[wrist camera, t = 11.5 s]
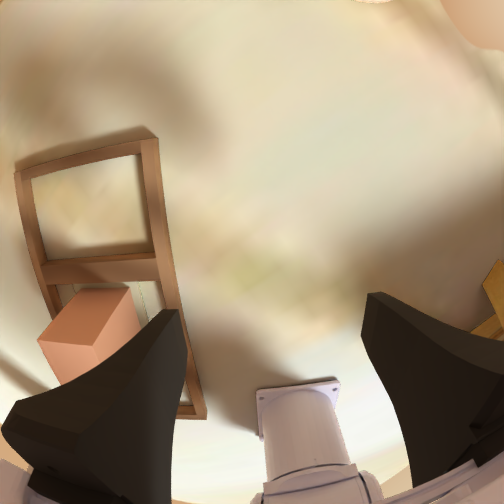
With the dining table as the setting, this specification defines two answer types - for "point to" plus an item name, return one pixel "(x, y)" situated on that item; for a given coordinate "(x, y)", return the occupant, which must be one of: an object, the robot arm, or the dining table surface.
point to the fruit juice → (373, 1)
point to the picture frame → (494, 304)
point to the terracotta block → (89, 331)
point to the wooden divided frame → (114, 266)
